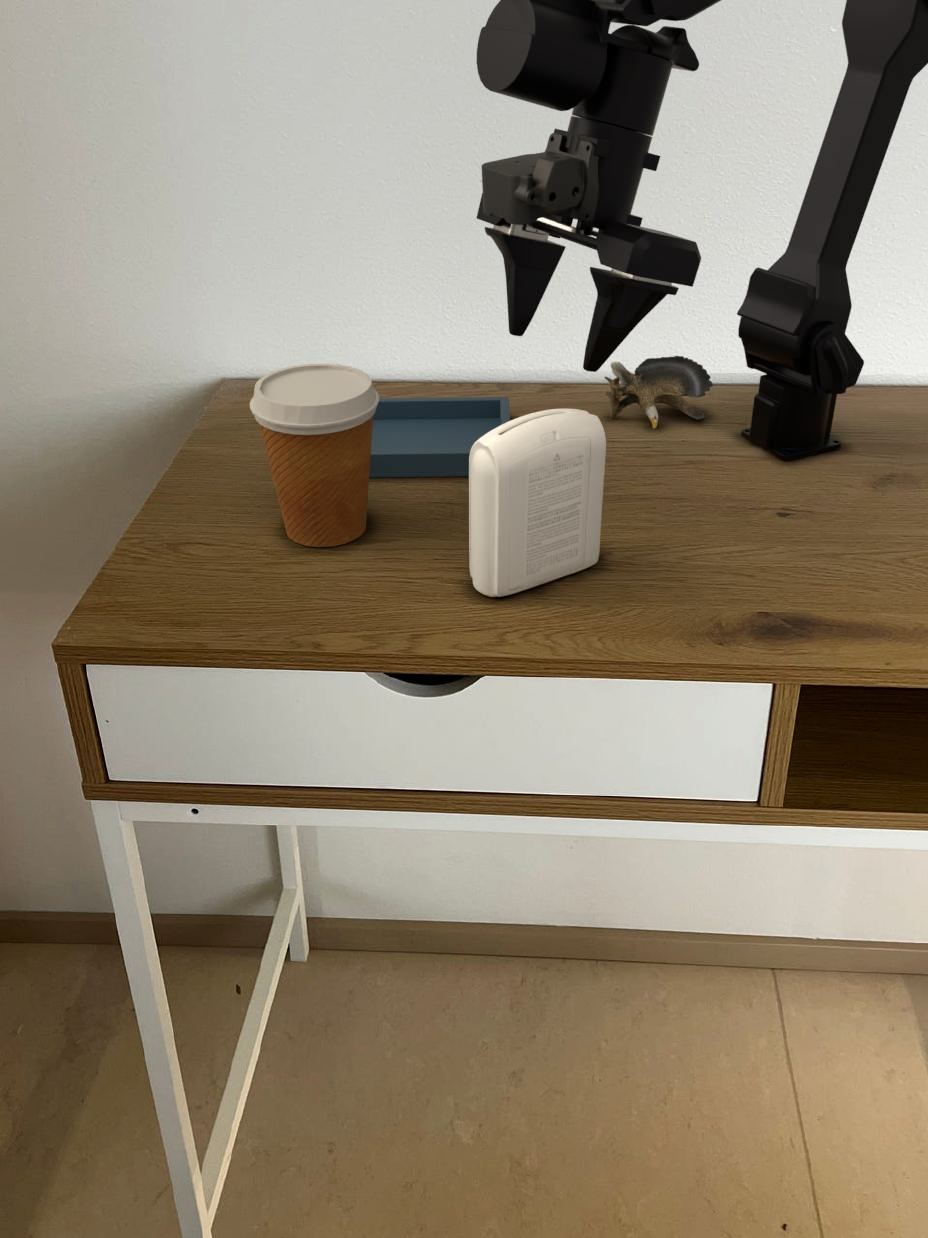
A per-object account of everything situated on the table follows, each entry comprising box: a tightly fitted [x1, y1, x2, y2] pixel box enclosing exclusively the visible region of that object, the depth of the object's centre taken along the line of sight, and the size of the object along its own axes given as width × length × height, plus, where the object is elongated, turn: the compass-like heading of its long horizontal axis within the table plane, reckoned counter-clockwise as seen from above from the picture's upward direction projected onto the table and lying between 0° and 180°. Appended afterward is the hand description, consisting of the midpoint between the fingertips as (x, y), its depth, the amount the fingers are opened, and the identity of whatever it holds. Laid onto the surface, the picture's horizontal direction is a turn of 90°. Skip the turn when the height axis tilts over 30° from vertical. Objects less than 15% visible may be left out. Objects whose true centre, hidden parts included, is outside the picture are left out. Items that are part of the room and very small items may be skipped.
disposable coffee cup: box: [249, 363, 380, 548], centre depth 87 cm, size 10×10×12 cm
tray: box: [369, 396, 511, 479], centre depth 103 cm, size 18×13×2 cm
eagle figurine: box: [604, 355, 714, 429], centre depth 106 cm, size 8×7×9 cm
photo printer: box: [468, 408, 607, 598], centre depth 81 cm, size 10×4×12 cm, turn 124°
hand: (551, 352), depth 84 cm, fingers open, 9 cm apart
